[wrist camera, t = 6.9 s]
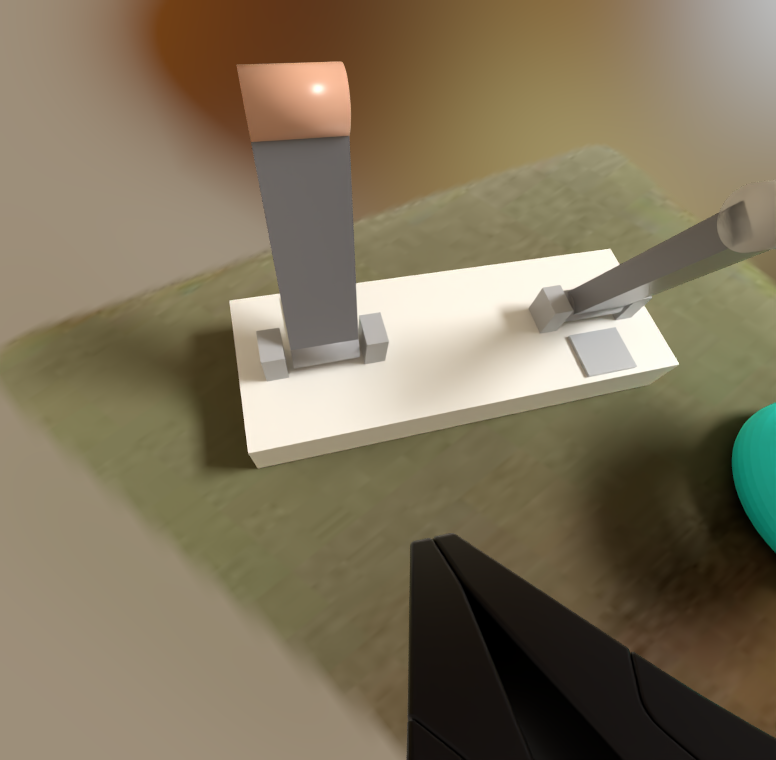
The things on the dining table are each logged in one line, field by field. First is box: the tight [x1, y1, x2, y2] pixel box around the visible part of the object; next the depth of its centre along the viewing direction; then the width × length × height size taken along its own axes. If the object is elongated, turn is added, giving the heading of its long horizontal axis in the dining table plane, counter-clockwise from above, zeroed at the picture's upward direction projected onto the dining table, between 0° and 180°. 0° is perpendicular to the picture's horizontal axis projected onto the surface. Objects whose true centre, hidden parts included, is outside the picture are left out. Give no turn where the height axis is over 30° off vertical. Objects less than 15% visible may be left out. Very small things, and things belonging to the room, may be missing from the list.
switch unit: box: [230, 249, 679, 468], centre depth 22 cm, size 8×22×4 cm, turn 104°
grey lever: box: [564, 180, 776, 322], centre depth 18 cm, size 2×3×11 cm, turn 105°
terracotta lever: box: [237, 62, 360, 368], centre depth 16 cm, size 2×3×11 cm, turn 105°
